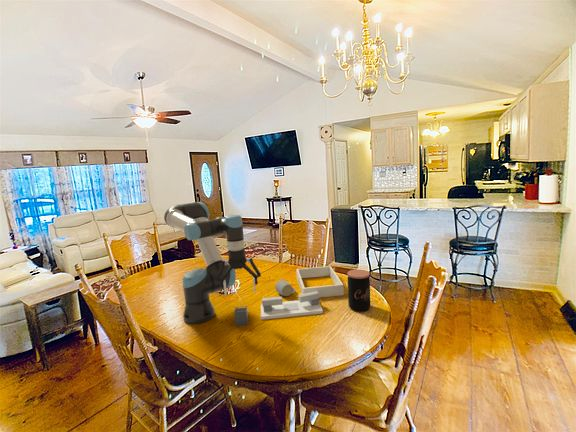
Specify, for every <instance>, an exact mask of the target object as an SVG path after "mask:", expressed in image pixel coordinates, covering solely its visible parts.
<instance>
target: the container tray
mask: <svg viewBox="0 0 576 432" xmlns="http://www.w3.org/2000/svg"><path fill="white" fill-rule="evenodd" d="M329 276H330V278H331V280H332V281H333V283H334V284H330V285H322V286H321V285H320V286H319V285H318V286H309V287H305V283H304V282H303V279H307V278H309V279H310V278H317V277H329ZM296 279H297V283H298V285H299V289H300V291H301V294H305V293H309V292H314V291H317V292H318V293H319V299H320V298H329V297H330V298H331V297H339V296H344V294H345V293H344V284H343V282H342V281H341V279H340V278H339V276H338V275H337V273H336V272H335V270H334V269H333V268H332V266H331V265H326V266H317V267H316V266H313V267H305V268H296Z"/></svg>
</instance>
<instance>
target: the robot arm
mask: <svg viewBox="0 0 576 432" xmlns="http://www.w3.org/2000/svg"><path fill="white" fill-rule="evenodd" d="M163 217H164V221H165V224H166V225H167V226H169V227H171V228H174V229H175V228H176V229H178V230H180V231H182V232H183V233H184V236H185V237H186V239H187V241H195V240H196V242H197V245H198V247H199V250H200V252H201V255H202V257H203V260H204V262H205V264H206V267H205V268H202V267H200V268H195V269H192V270H190V271H188V272H186V273H185V274H184V275H183V277H182V289H183V295H184V303H185V305H184V310H183V316H182V317H183V321H184V322H185V323H186V324H191V325H196V324H201V323H204V322H205V323H206V322H207V321H210V320H211V319H212V318H214V316H215V313H216V312H215V308H214V305H213V304H212V302H211V300H210V294H212V293H216V292H218V291H221V290H222V291H223V294H224V296H227V295H228V294H227V289H228V288H232V287H233V286H234V285H235V283H236V277H237V276H236V275H237V274H236V270H241V269H244V270H245V271H246V272H247V273H249V275H251V276H252V282H253V293H256V292H257V291H256V289H257V288H256V286H257V285H258V284H259V283H258V279H259V278H260V277H261V275H262V274H261V271H260V270H259V269H258V267H257V265H256V264H255V262H254V261H253V259H254V258H253V257H252V256H250V257H249V258H248V257H246V250H245V238H244V227H243V225H244V223H243V218H242V215H240V214H229V215H226V216H218V217H216V218H214V219H213V218H212V219H210V213H209V209H208V206H207V205H206V204H205V203H204V202H202V201H195V202H190V203H182V204H175V205H173V206H170V207H169V208H168V209H167V210H166V211H165V213H164V216H163ZM220 235H225V236H226V242H227V243H226V244H227V249H228V250H227V252H228V253H227V254H228V260H226V259H224V258H223V257H222V255H221V253H220V250H219V248H218V247H217V244H216V241H215V239H214V238H213V237H214V236H220ZM247 262H248V263H249V264H250V265H251V267H252V269H253V270H254V271H255V272H254V271H253V270H252V269H251V268H250V267H249V266H248V264H246V263H247Z"/></svg>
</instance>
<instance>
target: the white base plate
mask: <svg viewBox="0 0 576 432" xmlns="http://www.w3.org/2000/svg"><path fill="white" fill-rule="evenodd" d="M282 296H283V295H281V296H273V297H262V299H261V304H260V320H263V321H264V320H272V319H282V318H289V317H300V316H310V315H311V316H312V315H319V314H321V315H322V314H323V313H324V310H323V307H322V306H321V303H320V298H319V293H318V292H317V291H314V292H309V293H305V294H302V293H300V294H298V295H297V296H298V297H297V298H298V300H289V301H286V300H285V301H283V297H282Z"/></svg>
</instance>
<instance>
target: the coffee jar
mask: <svg viewBox="0 0 576 432" xmlns="http://www.w3.org/2000/svg"><path fill="white" fill-rule="evenodd" d="M346 274H347V297H348V298H347V301H348V303H347V304H348V307H349V309H350V310H351V311H354V312H358V313H364V312H367V311H369V310H370V308H371V279H370V275H371V274H370V272H369V271H368V270H365V269H361V268H360V269H351V270H348V271H347V273H346Z"/></svg>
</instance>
